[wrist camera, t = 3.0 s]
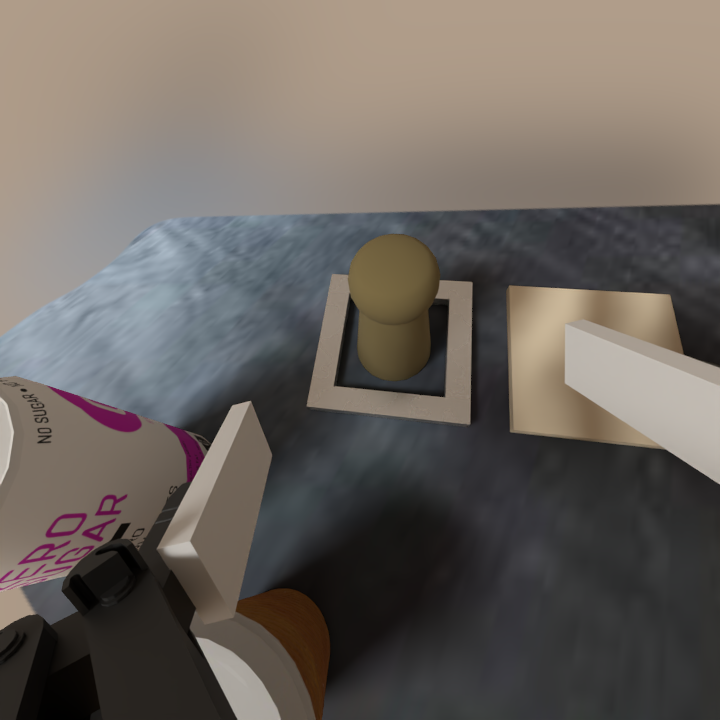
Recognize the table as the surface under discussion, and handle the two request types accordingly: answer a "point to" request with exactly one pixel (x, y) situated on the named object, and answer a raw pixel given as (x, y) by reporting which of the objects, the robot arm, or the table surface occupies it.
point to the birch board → (547, 358)
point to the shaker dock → (395, 404)
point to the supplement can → (79, 478)
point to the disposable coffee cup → (270, 656)
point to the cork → (394, 304)
